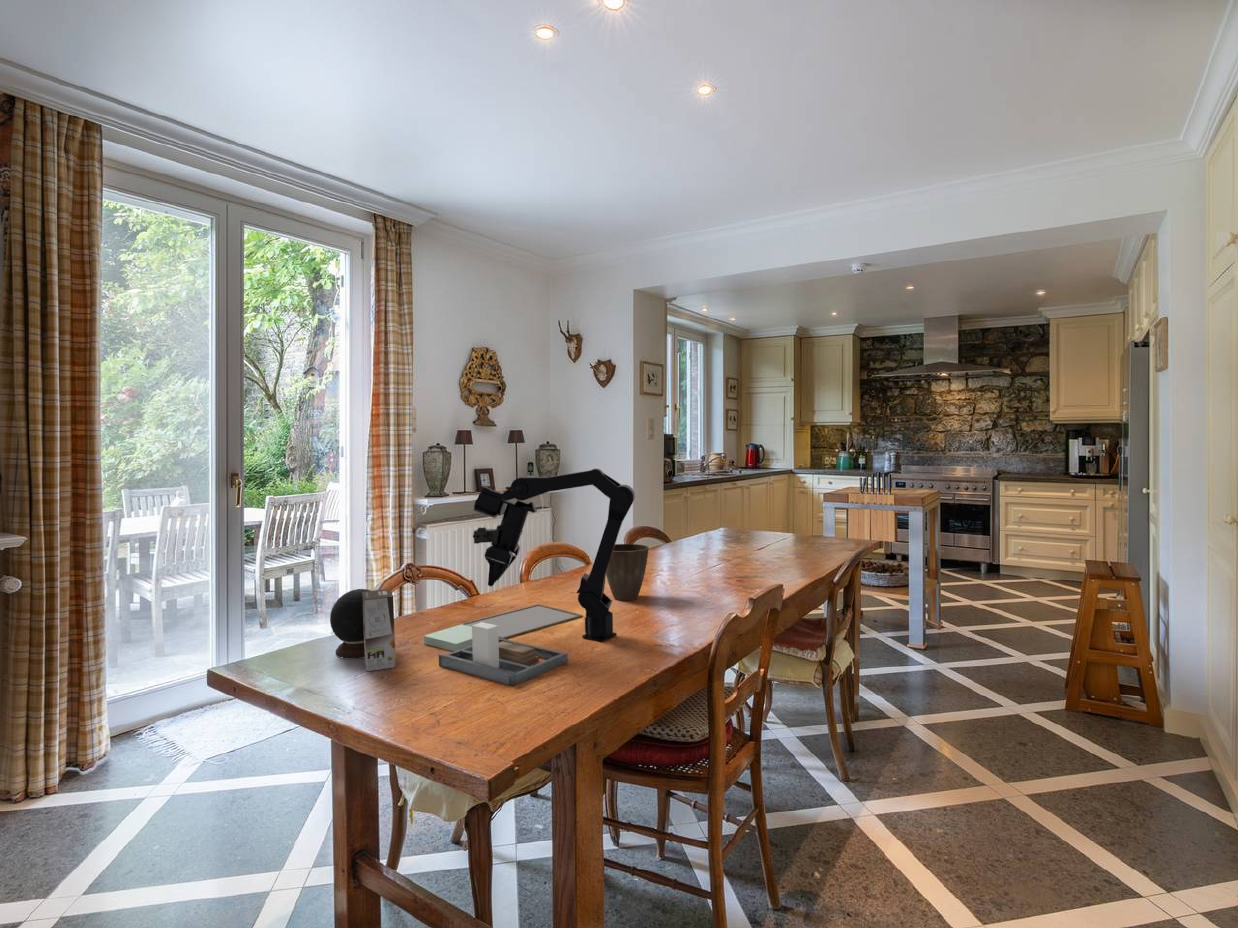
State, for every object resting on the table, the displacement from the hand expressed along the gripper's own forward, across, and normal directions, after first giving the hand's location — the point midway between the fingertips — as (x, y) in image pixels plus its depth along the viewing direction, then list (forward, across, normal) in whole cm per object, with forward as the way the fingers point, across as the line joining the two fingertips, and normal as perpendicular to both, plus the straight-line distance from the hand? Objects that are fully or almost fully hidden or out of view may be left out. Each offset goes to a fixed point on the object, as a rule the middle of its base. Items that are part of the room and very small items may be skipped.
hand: (492, 582), depth 170 cm
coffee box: (+22, +17, -17) cm, 32 cm away
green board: (+16, +2, -3) cm, 17 cm away
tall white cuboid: (+14, +23, +7) cm, 28 cm away
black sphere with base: (+24, +7, -24) cm, 35 cm away
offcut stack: (+12, +17, +12) cm, 24 cm away
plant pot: (0, -40, +37) cm, 54 cm away
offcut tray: (+12, +19, +10) cm, 25 cm away
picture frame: (+12, -16, +10) cm, 22 cm away
